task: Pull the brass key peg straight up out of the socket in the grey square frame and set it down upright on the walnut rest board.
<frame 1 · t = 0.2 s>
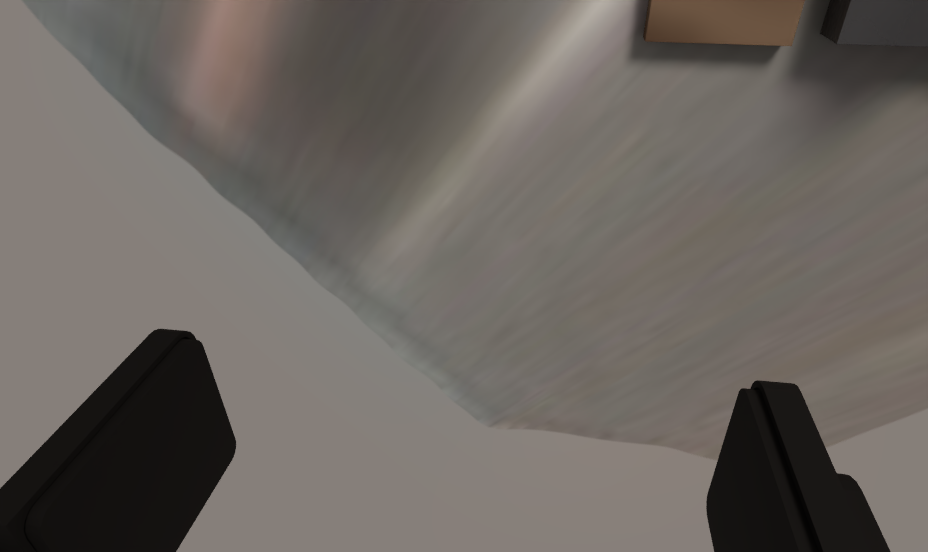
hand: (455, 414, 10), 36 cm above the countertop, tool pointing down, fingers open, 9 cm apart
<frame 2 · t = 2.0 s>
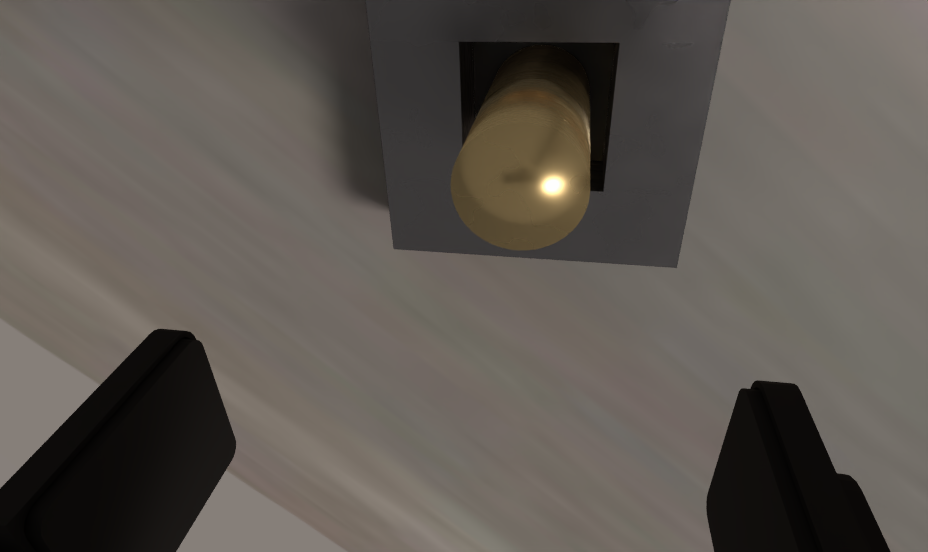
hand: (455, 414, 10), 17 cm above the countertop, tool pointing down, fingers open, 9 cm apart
grey square frame: (540, 95, 24), on the countertop
key peg: (531, 134, 21), in the grey square frame
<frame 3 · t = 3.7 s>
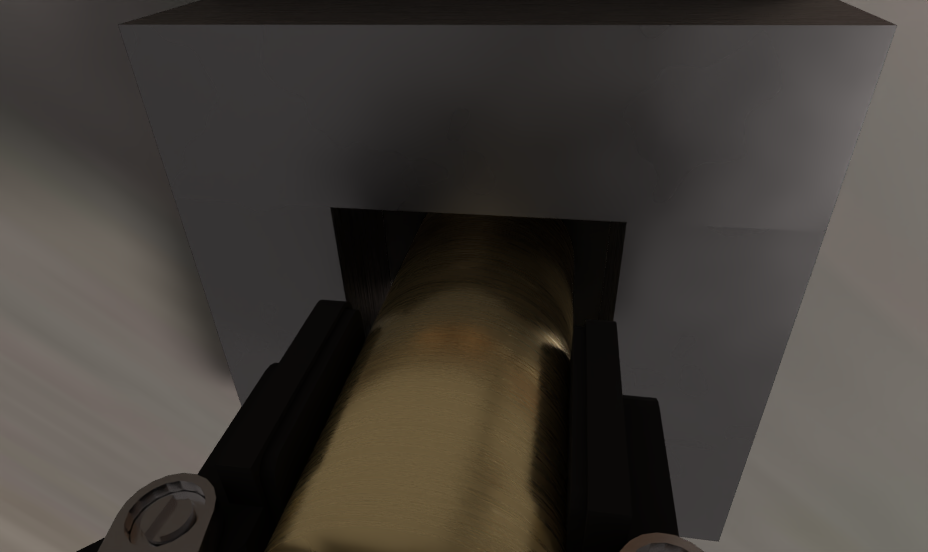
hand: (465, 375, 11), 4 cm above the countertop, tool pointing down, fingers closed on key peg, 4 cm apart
grey square frame: (493, 258, 15), on the countertop
key peg: (463, 381, 11), in the grey square frame, touching gripper
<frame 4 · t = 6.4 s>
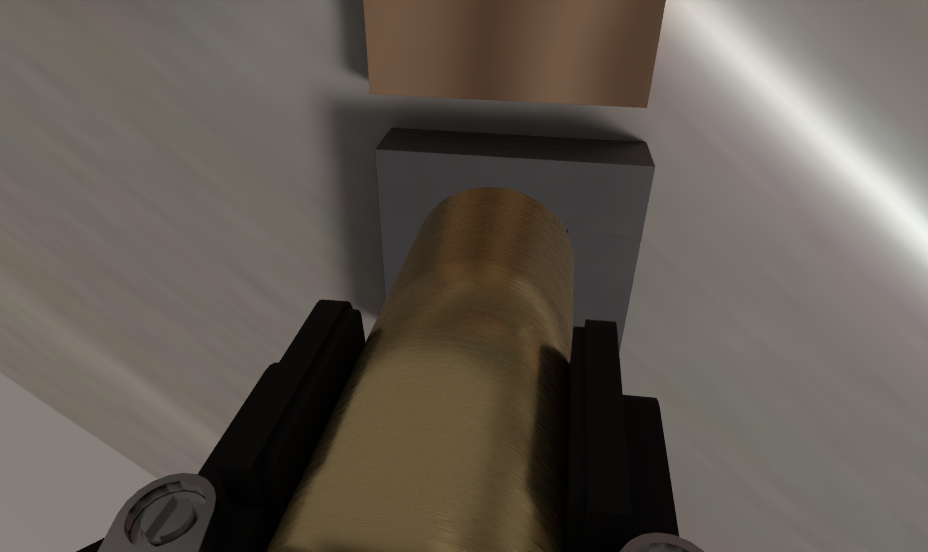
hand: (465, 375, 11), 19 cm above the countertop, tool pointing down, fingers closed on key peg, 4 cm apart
grey square frame: (509, 246, 31), on the countertop
key peg: (463, 383, 11), point 19 cm above the countertop, touching gripper
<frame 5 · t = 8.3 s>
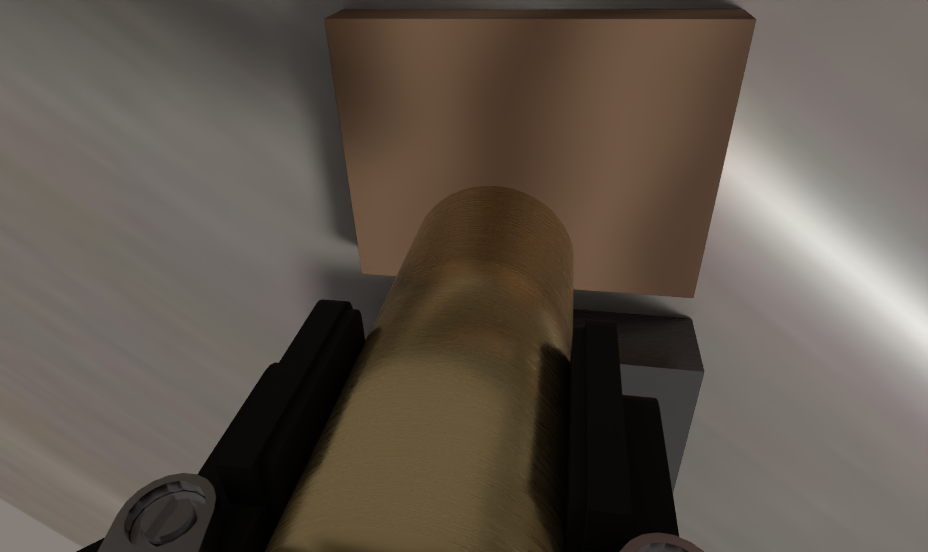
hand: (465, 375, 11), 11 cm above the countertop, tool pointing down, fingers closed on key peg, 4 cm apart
grey square frame: (530, 412, 27), on the countertop
rest board: (527, 152, 20), on the countertop
key peg: (463, 383, 11), point 11 cm above the countertop, touching gripper
when the fingers open (7 cm above the countertop, at t = 9.4 s): key peg drops 1 cm, resting on rest board.
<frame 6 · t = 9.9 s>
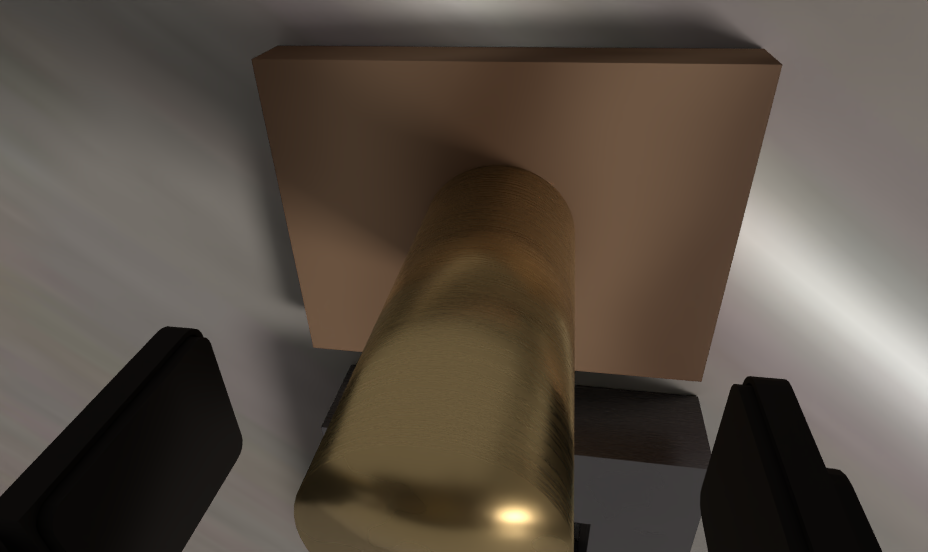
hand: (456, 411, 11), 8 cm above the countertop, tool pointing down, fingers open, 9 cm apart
grey square frame: (513, 491, 24), on the countertop
rest board: (504, 210, 17), on the countertop
key peg: (475, 342, 12), on the rest board, point 6 cm above the countertop
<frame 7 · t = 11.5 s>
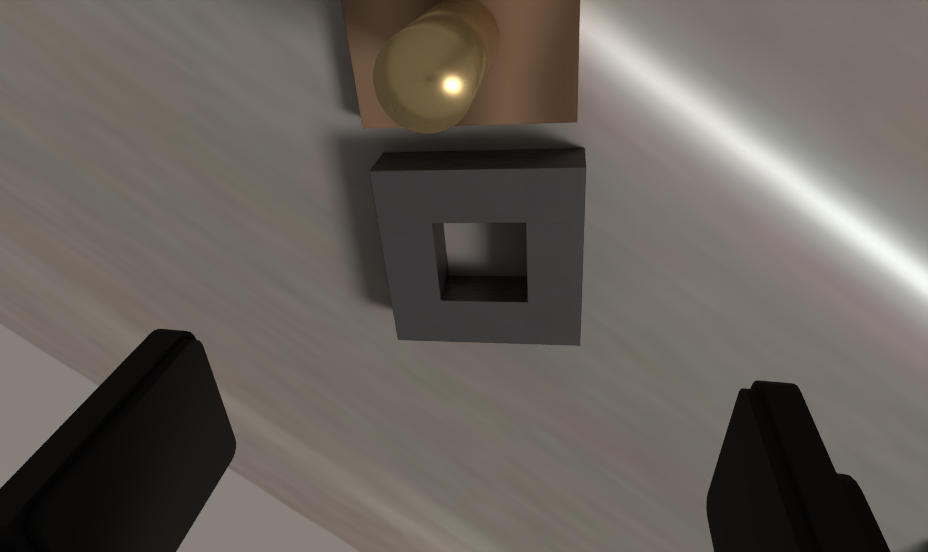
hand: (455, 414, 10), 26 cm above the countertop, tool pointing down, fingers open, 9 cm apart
grey square frame: (486, 240, 38), on the countertop
rest board: (464, 34, 32), on the countertop
key peg: (444, 57, 27), on the rest board, point 6 cm above the countertop
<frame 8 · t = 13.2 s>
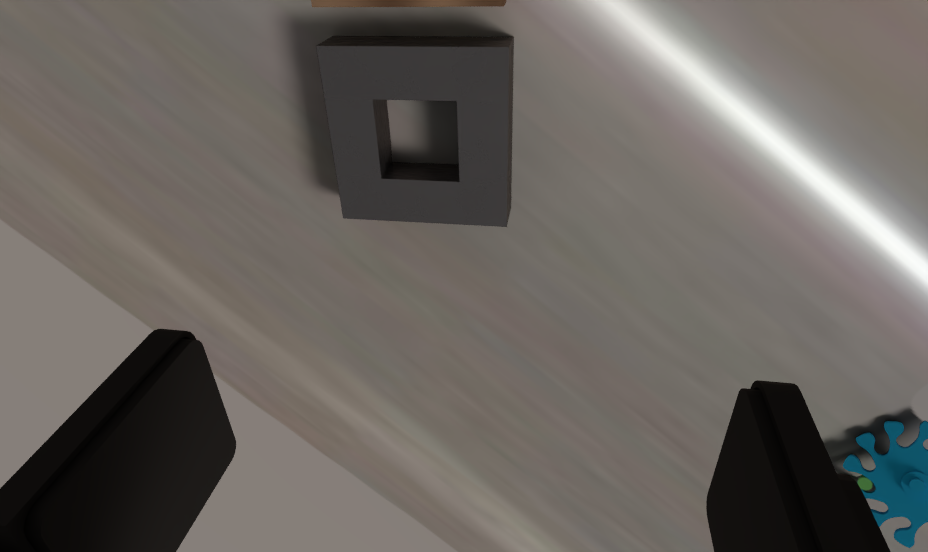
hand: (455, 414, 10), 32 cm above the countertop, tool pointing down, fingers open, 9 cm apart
grey square frame: (426, 126, 42), on the countertop
gear: (888, 446, 51), on the countertop
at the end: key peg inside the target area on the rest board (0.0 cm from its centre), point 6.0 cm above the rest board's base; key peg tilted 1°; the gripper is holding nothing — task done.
